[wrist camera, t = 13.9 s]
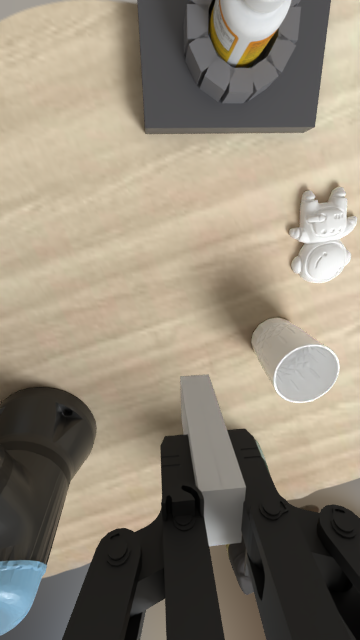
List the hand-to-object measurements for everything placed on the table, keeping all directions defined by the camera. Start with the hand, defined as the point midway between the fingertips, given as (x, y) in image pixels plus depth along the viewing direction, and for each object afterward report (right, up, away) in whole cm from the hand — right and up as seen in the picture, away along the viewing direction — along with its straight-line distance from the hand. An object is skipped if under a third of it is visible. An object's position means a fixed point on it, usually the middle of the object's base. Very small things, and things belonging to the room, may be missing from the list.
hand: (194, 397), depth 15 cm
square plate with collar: (+4, +32, +14) cm, 35 cm away
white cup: (+13, +2, +27) cm, 30 cm away
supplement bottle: (+4, +31, +12) cm, 33 cm away
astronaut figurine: (+18, +15, +23) cm, 33 cm away
